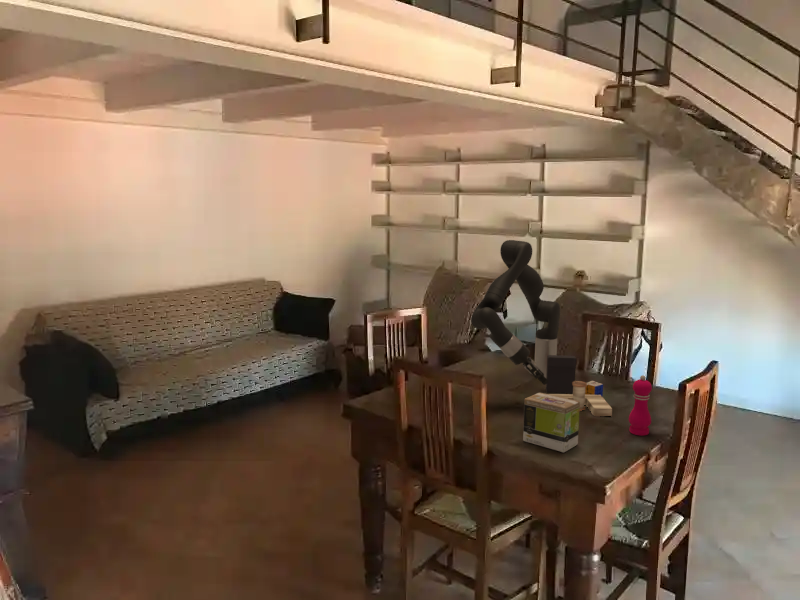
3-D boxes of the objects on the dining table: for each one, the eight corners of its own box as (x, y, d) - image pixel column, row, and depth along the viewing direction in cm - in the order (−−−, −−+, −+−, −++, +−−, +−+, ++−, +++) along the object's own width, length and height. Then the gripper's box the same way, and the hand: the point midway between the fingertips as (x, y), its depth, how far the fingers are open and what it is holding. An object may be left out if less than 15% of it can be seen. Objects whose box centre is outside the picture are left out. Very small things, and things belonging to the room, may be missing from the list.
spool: (569, 406, 250) (570, 380, 248) (583, 406, 250) (584, 381, 248) (572, 411, 245) (574, 385, 243) (586, 411, 245) (588, 385, 243)
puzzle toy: (592, 393, 266) (592, 380, 265) (602, 397, 262) (603, 383, 261) (583, 396, 262) (583, 382, 261) (593, 399, 258) (594, 385, 257)
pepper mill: (632, 426, 229) (636, 371, 226) (653, 431, 225) (657, 375, 221) (624, 432, 224) (628, 375, 220) (645, 437, 219) (650, 379, 216)
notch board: (547, 401, 256) (548, 393, 255) (600, 402, 255) (600, 394, 255) (556, 415, 240) (556, 407, 239) (611, 416, 239) (612, 408, 239)
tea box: (578, 444, 213) (581, 400, 211) (563, 453, 206) (565, 408, 203) (537, 433, 223) (539, 390, 221) (521, 441, 216) (523, 397, 213)
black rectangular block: (572, 391, 269) (574, 355, 266) (574, 394, 265) (576, 358, 262) (545, 390, 270) (547, 354, 267) (546, 393, 266) (548, 357, 263)
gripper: (524, 347, 237) (555, 378, 239) (519, 338, 251) (548, 367, 253) (509, 361, 238) (540, 392, 240) (504, 351, 252) (533, 380, 254)
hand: (544, 379), depth 246 cm, fingers open, 8 cm apart
